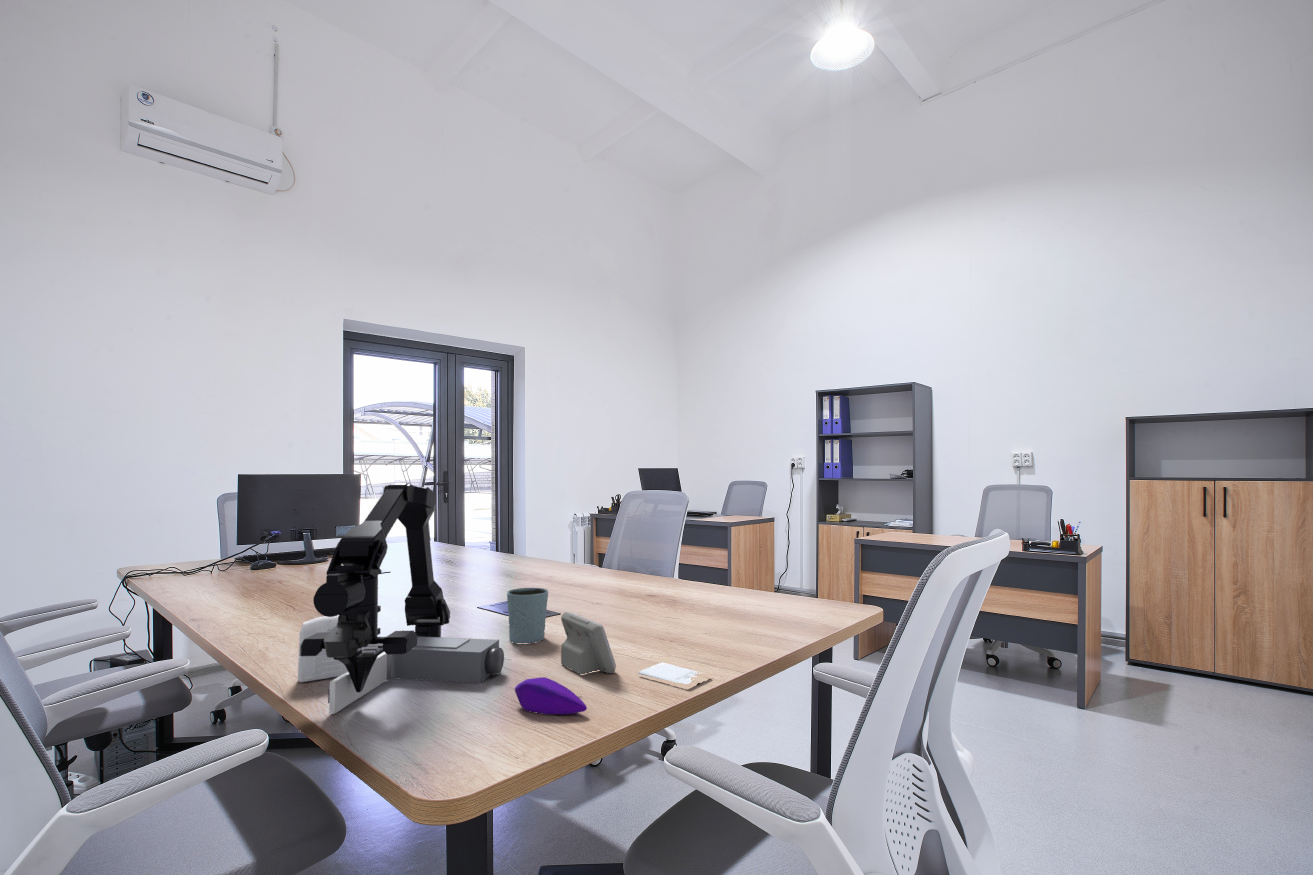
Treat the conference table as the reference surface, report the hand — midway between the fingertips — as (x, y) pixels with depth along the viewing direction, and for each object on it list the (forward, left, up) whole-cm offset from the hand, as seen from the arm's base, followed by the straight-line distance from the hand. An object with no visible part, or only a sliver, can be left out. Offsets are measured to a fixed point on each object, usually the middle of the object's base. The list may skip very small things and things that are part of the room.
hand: (359, 691), depth 108 cm
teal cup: (-45, +14, -3) cm, 48 cm away
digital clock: (-27, +35, -3) cm, 44 cm away
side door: (-5, -3, -2) cm, 6 cm away
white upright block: (-13, -17, -3) cm, 21 cm away
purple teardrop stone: (-3, +34, -3) cm, 35 cm away
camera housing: (-19, +6, -3) cm, 20 cm away
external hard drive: (-23, +54, -3) cm, 59 cm away
